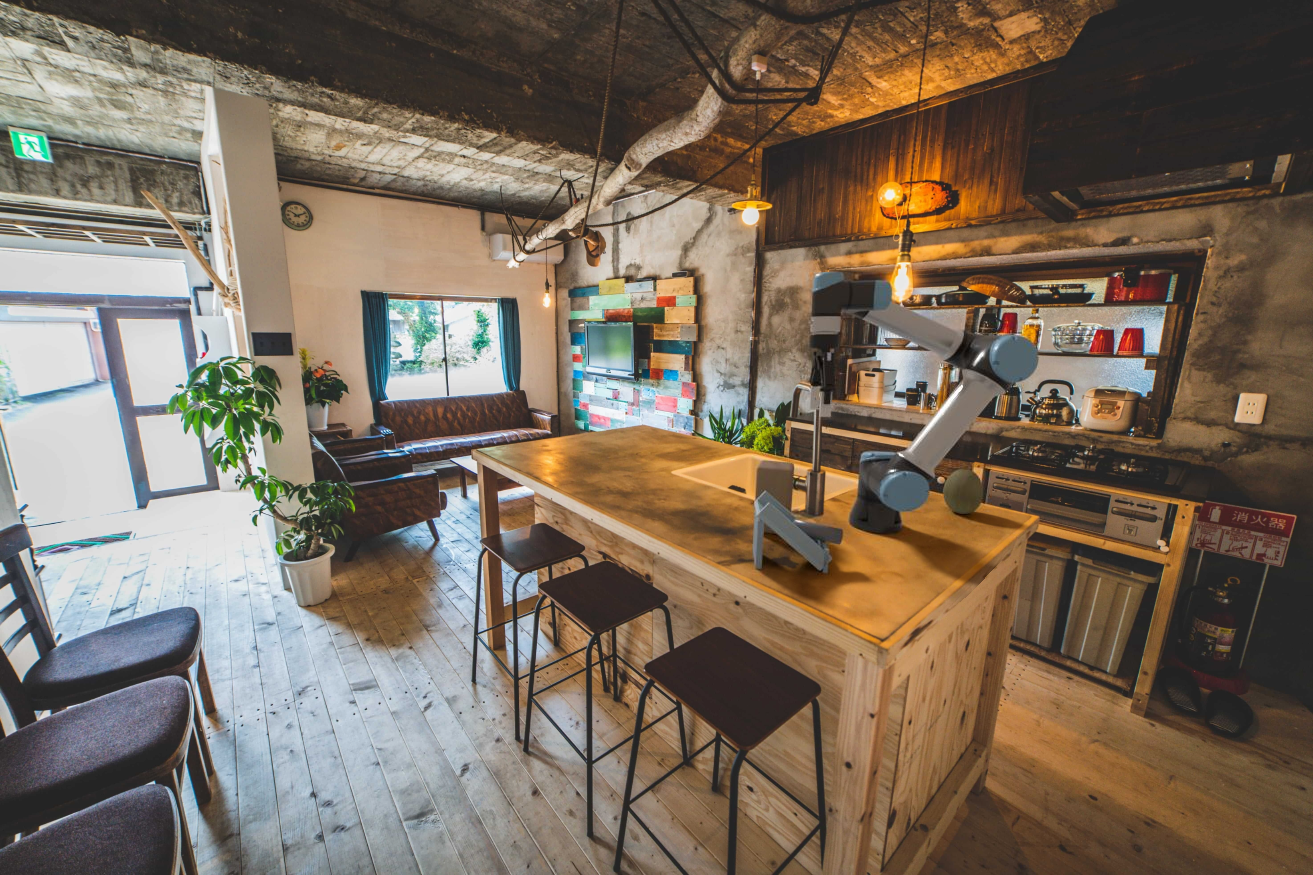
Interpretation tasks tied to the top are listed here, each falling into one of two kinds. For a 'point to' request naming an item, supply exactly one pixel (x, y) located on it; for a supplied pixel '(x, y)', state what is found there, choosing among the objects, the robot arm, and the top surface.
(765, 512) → the chute
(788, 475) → the wooden block
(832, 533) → the peg
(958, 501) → the fruit
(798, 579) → the top surface
